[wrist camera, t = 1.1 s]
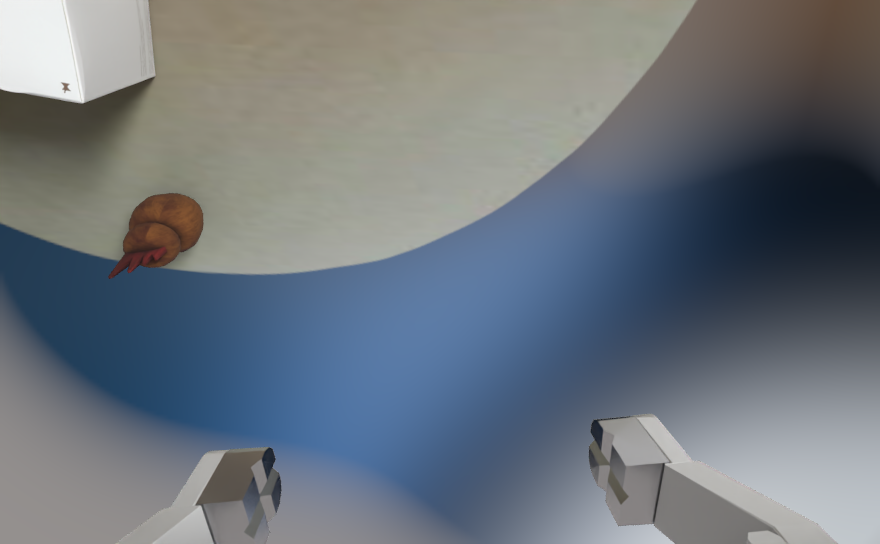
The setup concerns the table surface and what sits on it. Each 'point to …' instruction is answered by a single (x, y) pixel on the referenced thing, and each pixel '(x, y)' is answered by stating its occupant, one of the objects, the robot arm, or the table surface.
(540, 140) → the table surface
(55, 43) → the supplement box
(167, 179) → the table surface
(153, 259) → the wooden figurine
